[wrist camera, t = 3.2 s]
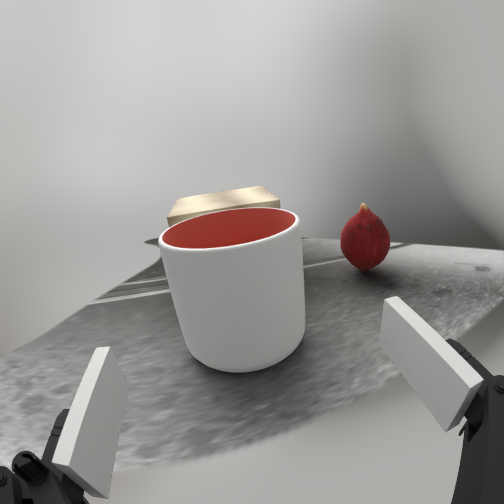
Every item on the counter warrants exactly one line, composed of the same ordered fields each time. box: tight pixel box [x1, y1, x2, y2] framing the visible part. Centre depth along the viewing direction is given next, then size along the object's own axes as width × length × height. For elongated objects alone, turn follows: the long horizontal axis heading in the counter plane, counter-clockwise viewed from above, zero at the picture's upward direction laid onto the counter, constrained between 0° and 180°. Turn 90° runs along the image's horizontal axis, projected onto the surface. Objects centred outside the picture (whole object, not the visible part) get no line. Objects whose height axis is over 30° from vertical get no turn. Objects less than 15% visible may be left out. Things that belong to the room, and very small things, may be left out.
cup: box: [158, 208, 305, 373], centre depth 22 cm, size 10×10×10 cm
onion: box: [341, 203, 390, 271], centre depth 31 cm, size 6×6×8 cm
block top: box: [167, 186, 280, 228], centre depth 34 cm, size 11×11×5 cm
